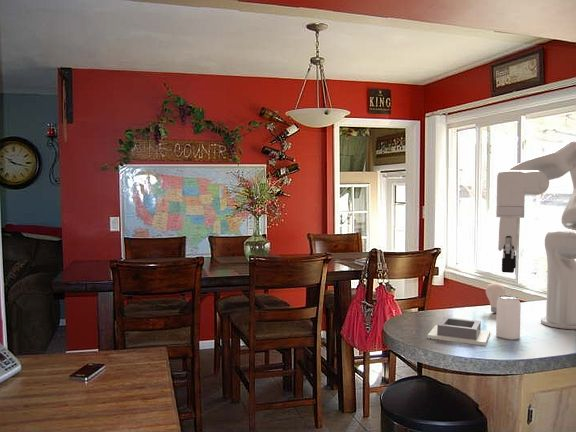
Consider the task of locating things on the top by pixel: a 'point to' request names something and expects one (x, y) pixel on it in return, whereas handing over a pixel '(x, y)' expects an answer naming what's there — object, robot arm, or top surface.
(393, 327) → the top surface
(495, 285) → the light bulb
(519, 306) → the can
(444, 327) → the socket board
